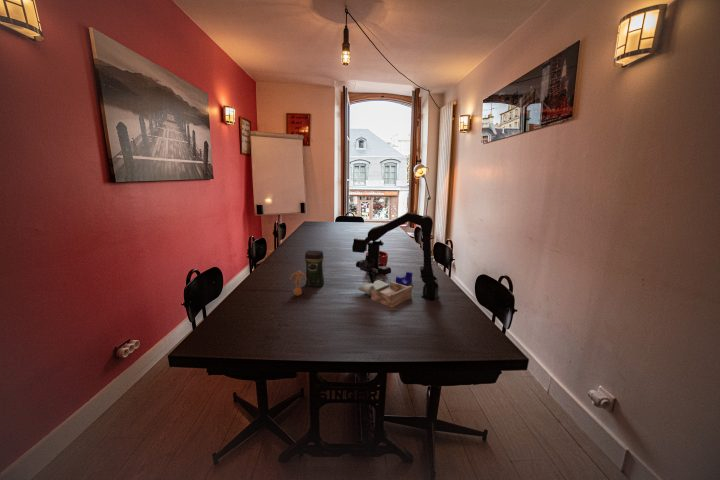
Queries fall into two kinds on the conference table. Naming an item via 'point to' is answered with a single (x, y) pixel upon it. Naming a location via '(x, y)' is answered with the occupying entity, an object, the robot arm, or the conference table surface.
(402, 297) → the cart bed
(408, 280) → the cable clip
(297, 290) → the figurine
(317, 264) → the coffee jar
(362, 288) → the tailgate
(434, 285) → the robot arm
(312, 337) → the conference table surface
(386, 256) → the plant pot
